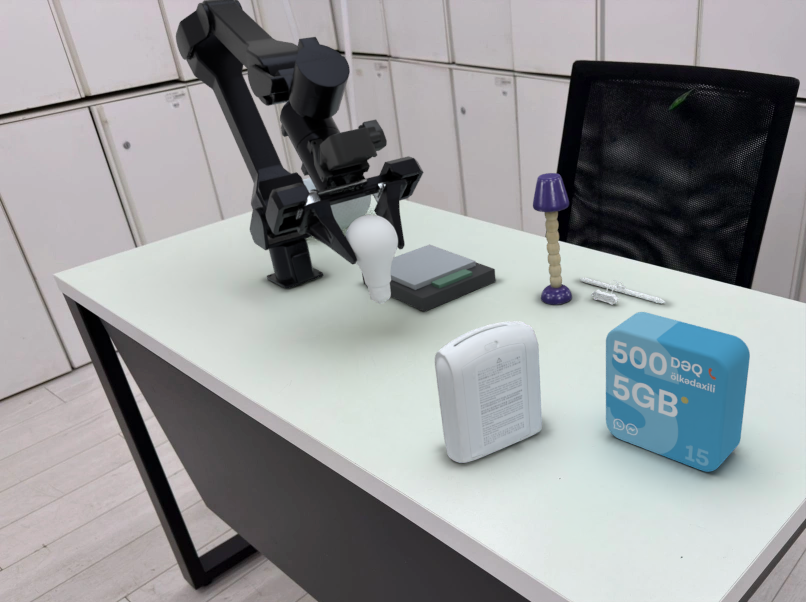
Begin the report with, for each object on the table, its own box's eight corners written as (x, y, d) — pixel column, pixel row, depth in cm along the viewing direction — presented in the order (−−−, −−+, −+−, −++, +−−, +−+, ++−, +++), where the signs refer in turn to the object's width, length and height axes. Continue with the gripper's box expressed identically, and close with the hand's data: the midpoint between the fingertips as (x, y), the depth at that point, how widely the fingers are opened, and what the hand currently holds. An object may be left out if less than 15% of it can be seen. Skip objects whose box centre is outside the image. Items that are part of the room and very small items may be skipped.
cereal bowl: (289, 250, 125) (280, 209, 121) (273, 223, 138) (264, 185, 134) (387, 230, 130) (380, 190, 126) (362, 206, 143) (356, 169, 140)
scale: (363, 284, 110) (360, 266, 109) (432, 257, 117) (430, 240, 116) (424, 312, 100) (421, 293, 99) (496, 281, 108) (494, 263, 106)
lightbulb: (373, 318, 88) (358, 229, 82) (347, 303, 92) (330, 217, 86) (416, 301, 91) (404, 214, 85) (389, 287, 95) (376, 203, 89)
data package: (604, 434, 73) (604, 325, 67) (629, 413, 76) (631, 307, 70) (717, 478, 66) (729, 361, 60) (739, 453, 69) (752, 339, 63)
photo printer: (525, 413, 78) (518, 305, 71) (549, 431, 74) (544, 320, 68) (438, 449, 73) (422, 338, 67) (460, 471, 70) (446, 355, 63)
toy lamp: (532, 301, 101) (524, 179, 92) (546, 288, 104) (540, 169, 96) (564, 306, 99) (560, 182, 90) (578, 293, 102) (575, 171, 94)
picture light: (666, 303, 98) (667, 288, 97) (648, 315, 95) (648, 300, 94) (581, 280, 106) (581, 266, 105) (562, 290, 103) (561, 276, 102)
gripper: (250, 114, 77) (317, 242, 75) (404, 85, 87) (467, 198, 85) (241, 175, 87) (301, 290, 85) (381, 143, 96) (437, 246, 94)
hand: (378, 255), depth 87 cm, fingers closed on lightbulb, 6 cm apart
